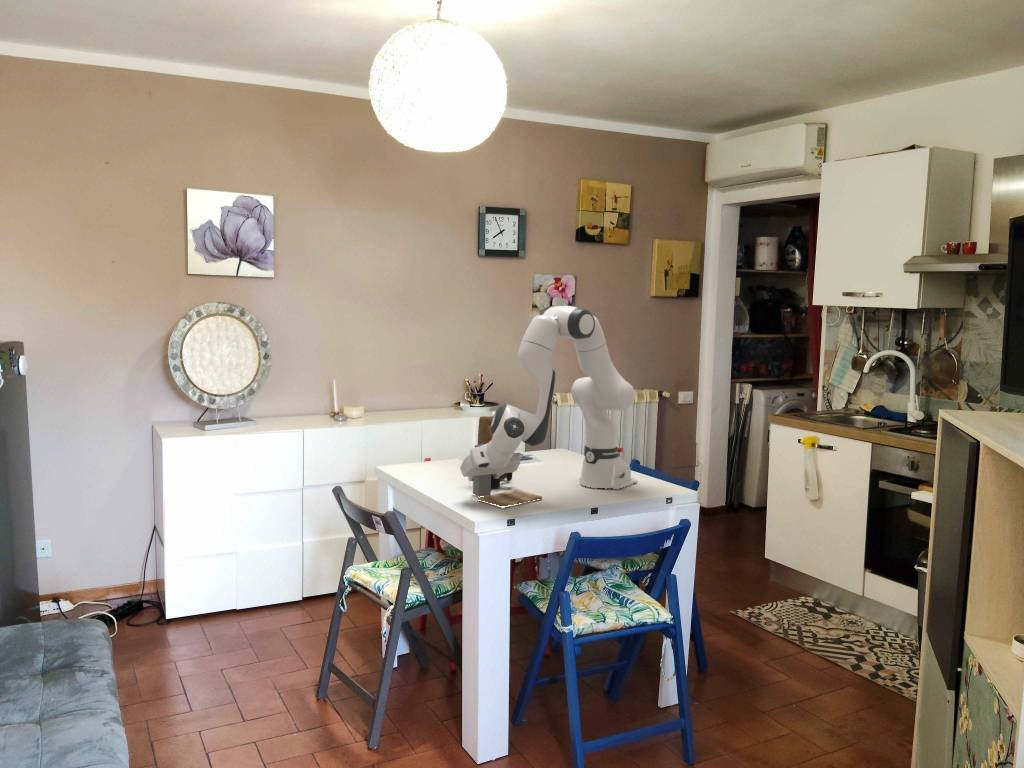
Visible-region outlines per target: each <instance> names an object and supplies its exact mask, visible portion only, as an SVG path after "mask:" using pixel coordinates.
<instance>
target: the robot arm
mask: <svg viewBox="0 0 1024 768" xmlns="http://www.w3.org/2000/svg"><path fill="white" fill-rule="evenodd" d="M558 339H572V340H573V346H574V349H575V354H576V357H577V361H578V365H579V368H580V370H581V371H582V372H583V373H584V374H586V375H587V376H584V377H580V378H577V379H576V380H575V381H574V382H573V384H572V387H571V397H572V400H573V401H574V403H576V404H577V406H578V407H579V409H580V410H581V413H582V415H583V418H584V424H585V445H584V448H583V455H584V459H583V461H582V466H581V467H582V468H581V474H580V477H579V478H578V479H579V480H580V481H579V484H580V485H581V486H582V485H583V486H582V487H585V486H586V487H585V488H590V487H591V488H592V489H597V488H605V489H606V490H608V489H607V488H613V489H612V490H620V489H619V488H622V487H624V488H626V487H625V486H627V487H629V486H628V485H630V484H632V485H634V484H633V483H635V484H637V483H638V480H637V479H636V478H634V477H632V470H631V467H630V465H629V464H628V463H627V462H625V461H624V460H623V459H622V458H621V457H620V453H621V454H623V453H624V451H625V448H624V447H623V446H617V435H618V433H617V431H618V430H617V424H616V423H615V422H614V421H613V420H612V419H611V417H610V416H609V414H608V411H609V410H610V411H626V410H629V409H630V408H631V407H632V405H633V404H634V402H635V399H636V394H635V393H636V392H635V388H634V387H633V385H632V384H631V383H630V382H628V381H627V380H625V379H624V377H622V375H621V374H620V373H619V370H617V368H616V367H615V365H614V363H613V361H612V359H611V356H610V352H609V347H608V344H607V341H606V338H605V334H604V331H603V328H602V326H601V323H600V321H599V320H598V318H597V317H596V316H595V315H593V313H592V311H590V310H588V309H586V308H584V307H581V306H579V307H577V306H572V305H548V306H546V307H543V308H542V310H541V311H540V312H539V313H538V315H535V317H533V318H532V319H531V321H530V323H529V324H528V326H527V328H526V330H525V333H524V334H523V337H522V340H521V341H520V342H521V343H520V345H519V348H518V352H517V361H518V363H519V365H520V367H521V368H522V369H523V371H524V372H525V373H526V374H527V375H528V376H529V377H530V378H532V379H533V380H534V382H535V383H536V384H537V386H538V387H539V398H538V402H537V407H536V413H534V414H533V413H531V412H528V411H525V410H523V409H521V408H519V407H517V406H513V405H511V404H506V403H505V404H502V405H500V406H499V407H497V409H496V411H495V413H494V414H493V415H492V416H493V418H492V420H491V424H490V428H491V432H492V434H493V437H492V440H491V441H490V442H489V443H487V444H485V445H482V446H479V447H476V448H475V447H473V448H471V449H470V450H469V454H468V455H467V456H466V457H465V458H464V460H463V461H462V462H461V465H460V467H459V468H460V472H461V474H462V476H463V477H467V479H468V482H473V481H474V479H475V477H474V476H479V475H489V474H493V477H494V479H498V478H499V477H500V476H501V475H503V474H505V473H511V472H513V473H514V472H516V471H517V470H518V468H519V466H520V464H521V460H522V459H523V458H524V454H523V453H521V452H516V451H517V449H518V448H519V446H520V444H521V443H522V442H523V443H524V444H526V445H528V446H530V447H536V446H539V445H541V444H543V443H544V442H545V440H546V438H547V436H548V433H549V420H550V413H551V407H552V402H553V396H554V392H555V383H556V371H555V369H553V366H552V357H553V355H554V354H553V353H554V351H555V347H556V344H557V341H558ZM607 410H608V411H607ZM630 486H631V485H630ZM591 488H590V489H591ZM605 489H604V490H605ZM622 489H623V488H622Z"/></svg>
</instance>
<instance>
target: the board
mask: <svg viewBox="0 0 1024 768" xmlns="http://www.w3.org/2000/svg"><path fill="white" fill-rule="evenodd" d="M541 498H542V499H543V496H542V495H539V494H534V493H531V492H528V491H523V490H521V489H514V490H509V491H505V492H500V493H495V494H491V495H489V496H484V497H480V498H478V497H477V501H478V500H481V501H485V502H488V503H492V504H496V505H499V506H508V505H514V504H519V503H524V502H528V501H533V500H537V499H541Z"/></svg>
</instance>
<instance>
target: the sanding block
mask: <svg viewBox="0 0 1024 768" xmlns="http://www.w3.org/2000/svg"><path fill="white" fill-rule="evenodd" d="M474 477H475V479H474V481H472V495H473V494H475V495H476V496H479V497H480V496H489V495H492V494H491V492H492V489H491V474H489V475H479V476H474ZM476 496H475V497H476Z"/></svg>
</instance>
